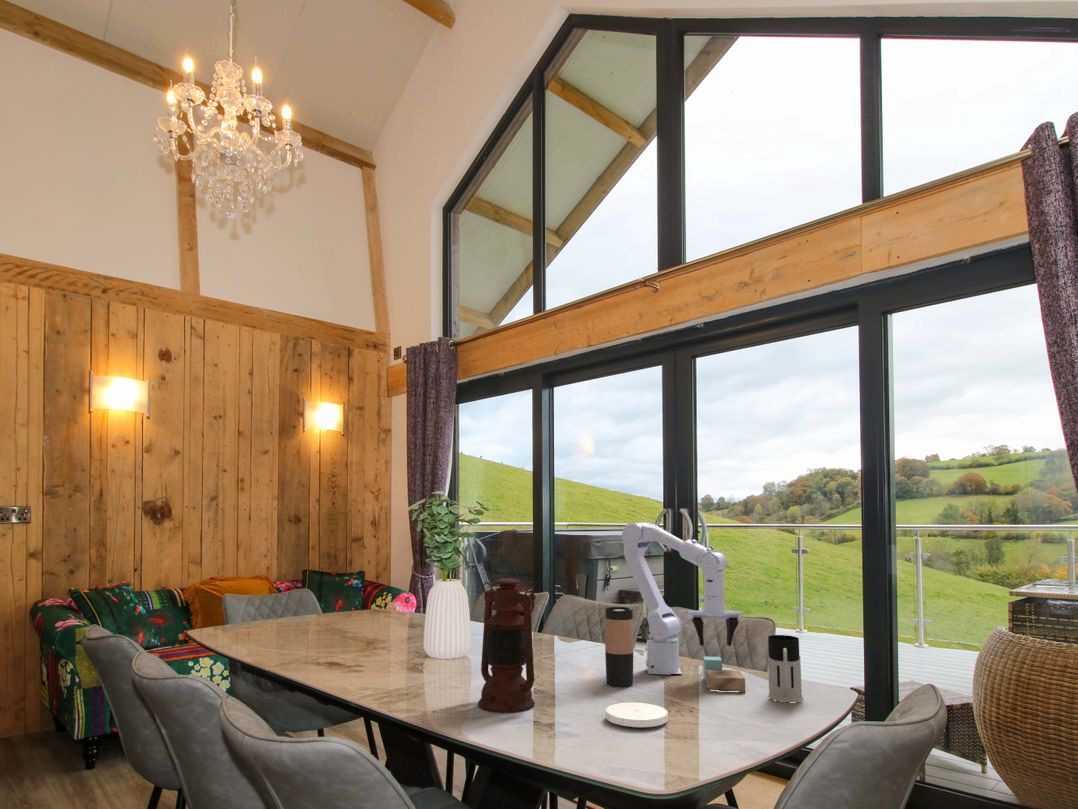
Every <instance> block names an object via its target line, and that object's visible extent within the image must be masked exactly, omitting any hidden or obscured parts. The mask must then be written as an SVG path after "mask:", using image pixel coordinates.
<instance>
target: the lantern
mask: <svg viewBox="0 0 1078 809" xmlns="http://www.w3.org/2000/svg"><path fill="white" fill-rule="evenodd" d="M494 583H495V584H497V585H498V587H496V588H495V589H493V586H492V584H491V583H490V582H488V581H486V582H484V583H483V584H482V591H483V594H484V595H483V597H484V602H485V605H484V617H483V618H484V619H483V634H482V648H481V663H480V666H481V667H480V673H481V675H482V676H481V677H482V678H483V681H484V682H485V683H484V684H483V686H482V689H481V695H480V696H481V698H480V699H479V700H478V702H477V703H478V704H477V705H478V706H477V707H478V708H479V709H481V710H482V711H485V712H489V713H494V714H495V713H497V714H515V713H522V712H526V711H529V710H531V709H533V708H534V707H535V706H536V701H535V700H534V699H533V691H532V688H533V686H534V683H535V669H534V666H535V665H534V648H533V647H534V646H533V626H532V625H533V624H532V612H533V611H534V609H535V607H536V606H535V605H536V604H535V600H536V598H537V597H536V595H535V592H536V590H535V588H534V587H533V586H529V587H528V588H527V589H526V590H525V592H524V593H521V592H520V588H519V587H516V586H517V585H520V584H521V583H522V582H521V580H519V579H517V578H512V577H511V578H507V577H505V578H498V579H497V580H495V581H494ZM487 584H488V585H489V587H490V589H489V590H486V591H485V585H487ZM530 589H532V592H530V594H529V595H528V592H529V590H530ZM493 611H495V614H494V615H493ZM489 666H490V672H489ZM523 666H525V677H523V675H522V674H523V672H524V667H523ZM525 678H526V679H525Z"/></svg>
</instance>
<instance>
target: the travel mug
mask: <svg viewBox="0 0 1078 809" xmlns="http://www.w3.org/2000/svg"><path fill="white" fill-rule="evenodd" d="M633 611H634V609H630V607H626V606H625V607H624V606H611V607H610V606H609V607H605V614H604V616H605V617H604V618H605V620H604V622H605V626H604V627H605V628H604V629H605V632H604V633H605V634H604V635H605V636H604V637H605V638H604V639H605V641H604V642H605V643H604V646H605V652H604V654H605V656H604V657H605V675H606V677H605V680H606V685H607V686H608V685H609V687H611V686H612V687H611V688H617V687H625V688H630V687H632V686H633V684H634V616H633V615H634V612H633Z"/></svg>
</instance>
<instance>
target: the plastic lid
mask: <svg viewBox="0 0 1078 809" xmlns="http://www.w3.org/2000/svg"><path fill="white" fill-rule="evenodd" d="M668 713H669V712H668V710H667V709H666V708H664V707H662V706H659V705H658V704H657V705H656V704H652V703H645V702H636V701H635V702H619V703H615V704H611V705H609V706H607V707H606V708H605V719H606V720H607V721H608V722H610V723H612V724H615V725H618V726H624V727H630V728H631V727H632V728H652V727H658V726H662V725H664V724H666V723H667V722H668V719H669V716H668V715H669V714H668Z"/></svg>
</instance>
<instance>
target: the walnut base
mask: <svg viewBox="0 0 1078 809" xmlns="http://www.w3.org/2000/svg"><path fill="white" fill-rule="evenodd" d="M706 683H707V685H708V687H709V689H710V690H719V691H739V692H745V693H746V678H745V676H744V675H743V673H742V672H741V671H740V670H738V669H737V670H734V669H732V670H731V669H722V670H706V682H705V684H706ZM707 685H706V686H707ZM708 687H707V688H708ZM709 689H708V690H709ZM710 690H709V691H710Z"/></svg>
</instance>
